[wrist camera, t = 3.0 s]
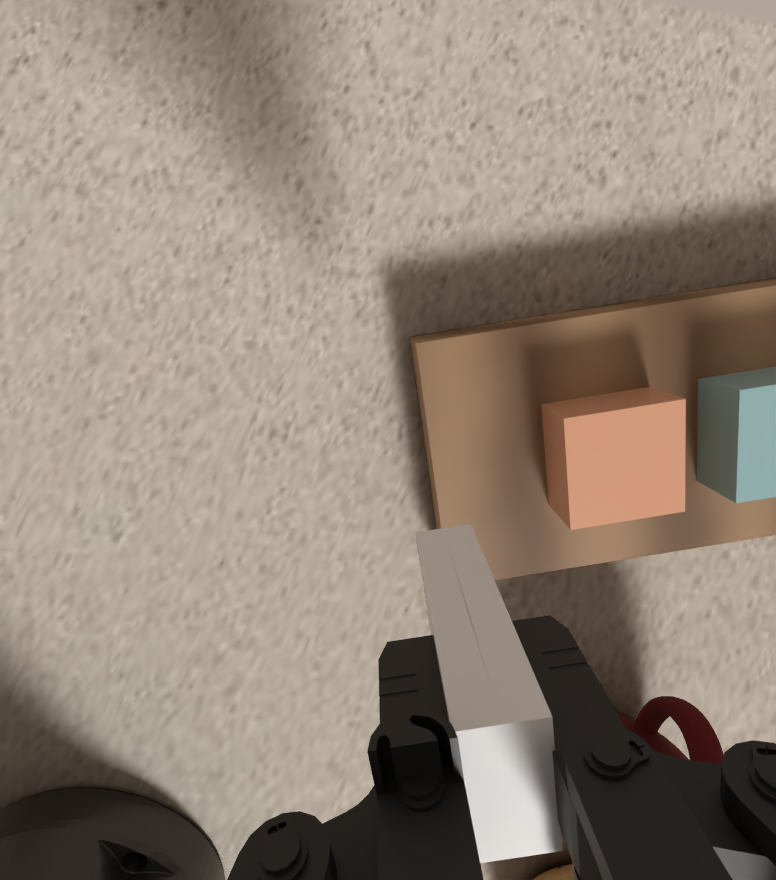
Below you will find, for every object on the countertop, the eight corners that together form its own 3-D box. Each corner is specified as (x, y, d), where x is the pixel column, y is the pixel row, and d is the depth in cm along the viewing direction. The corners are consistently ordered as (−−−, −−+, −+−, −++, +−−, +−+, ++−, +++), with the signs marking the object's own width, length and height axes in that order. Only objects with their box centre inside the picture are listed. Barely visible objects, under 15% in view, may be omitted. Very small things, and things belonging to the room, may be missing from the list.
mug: (550, 638, 28) (647, 817, 19) (694, 642, 29) (860, 819, 19) (522, 791, 31) (594, 1015, 22) (654, 793, 32) (781, 1012, 22)
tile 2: (548, 504, 23) (570, 530, 20) (541, 404, 22) (563, 418, 19) (651, 488, 23) (685, 511, 20) (649, 386, 22) (685, 398, 19)
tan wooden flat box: (440, 555, 27) (449, 587, 24) (409, 336, 24) (415, 343, 21) (830, 492, 27) (887, 516, 24) (850, 265, 24) (918, 262, 21)
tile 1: (696, 481, 23) (736, 503, 20) (697, 378, 22) (739, 390, 19) (798, 464, 23) (850, 484, 20) (806, 361, 22) (861, 370, 19)
